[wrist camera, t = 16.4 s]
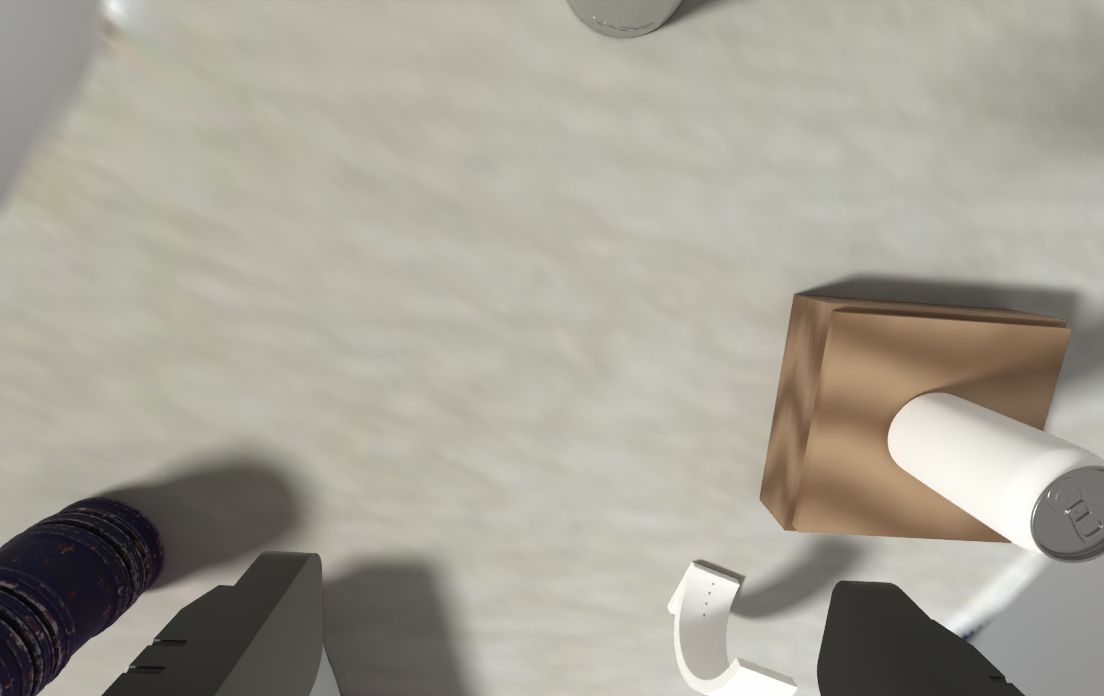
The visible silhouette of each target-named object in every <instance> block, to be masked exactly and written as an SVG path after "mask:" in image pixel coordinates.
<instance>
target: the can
mask: <svg viewBox="0 0 1104 696" xmlns="http://www.w3.org/2000/svg"><path fill="white" fill-rule="evenodd" d="M888 448H889V452H890V454H891V456H892V458H893V460H894V461H895V462H896V464H897V465H898V466H900V467H901V468H902V469H903V470H905V471H906V472H908V473H909V474H911V475H912V476H914V477H915V478H916V479H918V480H919V481H921V482H922V483H924V484H925V485H927V486H928V487H930V488H931V489H933V490H934V491H936V492H937V493H939V494H940V495H942V496H943V497H945V498H946V499H948V500H949V501H951V502H952V503H954V504H955V505H957V506H958V507H960V508H961V509H963V510H964V511H966V512H967V513H969V514H970V515H972V516H973V517H975V518H976V519H978V520H979V521H981V522H982V523H984V524H985V525H987V526H988V527H990V528H991V529H993V530H995V531H996V532H998V533H999V534H1001V535H1002V536H1004V537H1005V538H1007V539H1008V540H1010V541H1012V542H1013V543H1015V544H1016V545H1018V546H1020V547H1022V548H1024V549H1026V550H1029V551H1032V552H1036V553H1041V554H1045V555H1047V556H1048V557H1050V558H1052V559H1054V560H1057V561H1061V562H1066V563H1080V562H1086V561H1090V560H1093V559H1096V558H1098V557H1100V556H1102V555H1104V460H1103V459H1102V458H1100V457H1099V456H1098V455H1096V454H1094V453H1092V452H1090V451H1089V450H1086V449H1084V448H1082V447H1080V446H1077V445H1075V444H1073V443H1070V442H1068V441H1065V440H1063V439H1061V438H1058V437H1056V436H1053V435H1051V434H1048V433H1046V432H1044V431H1041V430H1039V429H1036V428H1034V427H1031V426H1029V425H1026V424H1024V423H1021V422H1019V421H1017V420H1014V419H1012V418H1009V417H1007V416H1004V415H1002V414H999V413H997V412H994V411H992V410H989V409H987V408H985V407H982V406H980V405H977V404H975V403H972V402H970V401H967V400H965V399H962V398H959V397H957V396H954V395H951V394H947V393H929V394H924V395H921V396H918V397H916V398H914V399H913V400H911V401H910V402H908V403H907V404H906V405H905V406H904V407H903V408H902V409H901V410H900V411H899V412H898V413H897V414H896V416H895V417H894V419H893V421H892V423H891V425H890V428H889V432H888Z"/></svg>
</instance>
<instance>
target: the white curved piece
mask: <svg viewBox="0 0 1104 696" xmlns="http://www.w3.org/2000/svg"><path fill="white" fill-rule="evenodd" d="M739 586H740V584H739V582H738V581H737V579H735V578H733V577H730V576H728V575H725V574H723V573H720V572H718V571H715V570H712V569H710V568H707V567H705V566H702V565H700V564H697V563H695V562H692V563H691V564H690V566H689V568H688V570H687V572H686V573H685V575H684V577H683V579H682V581H681V582H680V584H679V586H678V588H677V590H676V591H675V593H674V595H673V597H672V599H671V600H670V602H669V604H668V606H667V607H668V610H669V612H670V613H672V614H675V624H674V642H675V652H676V658H677V662H678V666H679V669H680V671H681V674H682V676H683V678H684V679H685V681H686V682H687V683H688V685H689V686H690V687H691V688H693V689H694V690H696V691H698V692H700V693H703V694H706V695H709V696H792V695H793V694H794V693H795V691H796V690H797V689H798V687H797V685H796V683H795V681H794V680H793V678H791V677H788V676H786V675H783V674H780V673H778V672H775V671H772V670H770V669H767V668H764V667H762V666H759V665H756V664H754V663H751V662H748V661H746V660H743V659H740V658H738V657H736V658H735V660H734V661H733V663H732V664H731V665H730V666H729V663H728V658H727V650H726V630H727V622H728V616H729V612H730V608H731V604H732V601H733V599H734V596H735V594H736V591H737V589H738V588H739Z"/></svg>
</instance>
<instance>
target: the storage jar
mask: <svg viewBox="0 0 1104 696" xmlns="http://www.w3.org/2000/svg"><path fill="white" fill-rule="evenodd" d="M164 559H165V552H164V545H163V542H162V539H161V537H160V535H159V533H158V531H157V529H156V528H155V526H154V525H153V524H152V522H151V521H150V520H149V519H148V518H147V517H146V516H145V515H143V514H142V513H141V512H140V511H138V510H136V509H135V508H133V507H131V506H130V505H127V504H125V503H123V502H120V501H116V500H113V499H106V498H91V499H84V500H81V501H78V502H75V503H73V504H71V505H69V506H67V507H66V508H64V509H63V510H61V511H60V512H59V513H57V514H55V515H52V516H50V517H48V518H45V519H43V520H41V521H40V522H38V523H36V524H35V525H33V526H31V527H30V528H28V529H27V530H25V531H24V532H23V533H20V534H18V535H16V536H15V537H13V538H12V539H11V540H9V541H8V542H7V543H6V544H4V545H3V546H2V547H1V548H0V696H36V695H37V694H38V693H39V692H40V691H41V690H42V689H43V688H44V687H45V686H46V685H47V684H49V683H50V682H52V681H53V680H54V679H55V678H56V677H57V676H58V675H59V673H60V672H61V670H62V669H63V668H64V667H65V666H66V664H67V663H68V661H69V660H70V658H71V656H72V655H73V654H74V653H75V652H76V651H77V650H78V649H79V648H81V647H82V646H83V645H84V644H85V643H86V642H87V641H88V640H89V639H90V638H92V637H94V636H97V635H98V634H100V633H101V632H103V631H104V630H105V629H106V628H108V627H109V626H111V625H112V624H113V623H114V622H115V621H116V620H117V619H118V618H119V617H120V616H121V615H122V614H124V613H125V612H126V611H127V610H128V609H129V608H130V607H131V606H132V605H133V604H134V603H135V602H136V600H137V599H138V598H139V596H140V595H141V594H142V593H143V592H144V591H146V590H147V589H148V588H149V587H150V586H151V585H152V584H153V583H154V582H155V581H156V580H157V578H158V577H159V575H160V573H161V571H162V569H163V565H164Z"/></svg>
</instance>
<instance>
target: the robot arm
mask: <svg viewBox="0 0 1104 696" xmlns="http://www.w3.org/2000/svg"><path fill="white" fill-rule="evenodd" d="M681 1H682V0H568V2H569V4H570V6H571V8H572V10H573V11H574V12H575V13H576V15H577V16H578V17H579V18H580V19H581V21H582V22H584V23H585V24H586V25H588V26H589V27H590V28H591V29H593V30H595V31H597V32H599V33H601V34H603V35H605V36H610V37H615V38H634V37H638V36H641V35H645V34H647V33H649V32H651V31H653V30H655V29H657V28H658V27H659V26H661V25H662V24H663V23H664V22H665V21H667V20H668V19H669V18H670V16H671V15H672V14H673V13H674V11H675V10H676V9H677V8H678V6H679V5H680V3H681ZM322 650H323V599H322V563H321V559H320V556H319V555H318V554H317V553H300V552H279V551H265V552H263V553H262V554H261V555H260V556H259V557H258V558H257V559H256V560H255V561H254V562H253V564H252V565H251V566H250V567H249V568H248V570H247V571H246V572H245V573H244V574H243V576H242V577H241V578H240V579H239V580H238V582H237V583H236V584H235V585H234V586H226V585H218V586H217V587H215V588H214V589H212V590H211V591H209V592H207V593H206V594H204V595H203V596H201V597H200V598H198V599H196V600H195V601H193V602H192V603H190V604H189V605H187V606H186V607H184V608H182V609H181V610H180V611H179V612H178V613H177V614H176V616H175V617H174V618H173V619H172V620H171V621H170V622H169V623H168V624H167V625H166V626H165V627H164V629H163V630H162V631H161V632H160V633H159V634H158V635H157V636H156V637H155V638H154V641H153V644H152V645H151V646H149V645H148V646H147V647H146V648H145V649H144V650H143V651H142V652H141V653H140V654H139V656H138V657H137V658H136V659H135V660H134V661H133V662H132V663H131V664H130V665H129V669H128V671H127V673H122V674H121V675H120V676H119V677H118V678H117V679H116V680H115V682H114V683H113V684H112V685H111V686H110V687H109V688H108V689H107V690H106V691H105V692H104V693H103V695H102V696H309V695H310V693H311V691H312V688H313V686H314V683H315V681H316V677H317V674H318V671H319V667H320V662H321V657H322ZM817 678H818V685H819V690H820V694H821V696H1025V695H1024V694H1023V693H1021V692H1020V691H1019V690H1018V689H1017V688H1016V687H1015V686H1014V685H1013V684H1012V683H1007V682H1006V680H1005V676H1004V675H1003V674H1002V673H1001V672H1000V671H999V670H997V668H996V667H994V666H993V665H992V664H991V663H990V662H989V661H988V660H987V659H986V658H985V657H984V656H983V655H982V654H981V653H980V652H979V651H978V650H977V649H976V648H975V647H974V646H973V645H971V644H969V643H968V642H966V641H965V640H963V639H962V638H960V637H959V636H957V635H956V634H954V633H953V632H951V631H950V630H948V629H947V628H945V627H944V626H942V625H941V624H939V623H938V622H936V621H934V620H931V619H930V618H929V617H928V616H927V615H926V614H925V613H924V612H923V611H922V610H921V609H920V608H919V607H918V606H917V605H916V604H915V603H914V602H913V601H912V600H911V599H910V598H909V597H908V596H907V595H906V594H905V593H904V592H903V591H902V590H901V589H900V588H899V587H898V586H896V585H894V584H892V583H884V582H864V581H840V582H838V583H837V584H836V586H835V587H834V589H833V592H832V596H831V601H830V606H829V610H828V615H827V620H826V625H825V630H824V634H823V639H822V644H821V649H820V653H819V658H818V664H817Z"/></svg>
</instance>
